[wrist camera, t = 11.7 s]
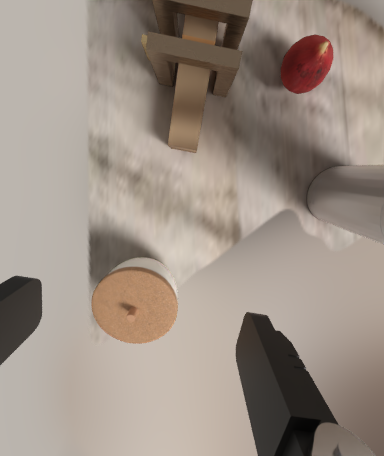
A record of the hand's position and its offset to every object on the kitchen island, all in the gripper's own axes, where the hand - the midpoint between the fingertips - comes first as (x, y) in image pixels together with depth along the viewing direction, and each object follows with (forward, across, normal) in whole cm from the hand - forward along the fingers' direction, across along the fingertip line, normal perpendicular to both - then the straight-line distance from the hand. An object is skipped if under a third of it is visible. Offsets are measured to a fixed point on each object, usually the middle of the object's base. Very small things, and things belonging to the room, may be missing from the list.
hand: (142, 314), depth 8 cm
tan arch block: (+28, +1, -20) cm, 35 cm away
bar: (+28, +1, -18) cm, 33 cm away
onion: (+28, -13, -21) cm, 38 cm away
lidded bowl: (+28, +4, +15) cm, 32 cm away
